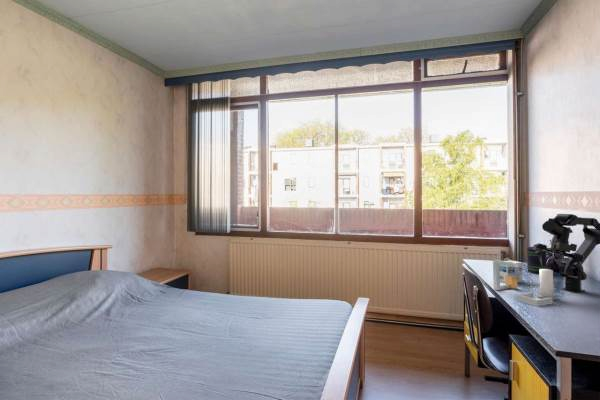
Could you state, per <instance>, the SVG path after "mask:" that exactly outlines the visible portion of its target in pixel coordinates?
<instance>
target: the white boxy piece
mask: <svg viewBox="0 0 600 400" xmlns="http://www.w3.org/2000/svg"><path fill="white" fill-rule="evenodd" d="M505 261H506V260H505ZM505 261H504V260H500V259H493V260H492V267H493V268H492V271H493V272H492V273H493V276H492V277H493V290H494V291H501V290H508V289H512V290H514V289H518V282H517V276H513V275H506V276H505V277H506V283H505V284H503V285H501V281H500V264H501V265H506V266H511V267H518V264H515V263H510V262H505Z"/></svg>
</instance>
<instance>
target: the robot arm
mask: <svg viewBox="0 0 600 400" xmlns="http://www.w3.org/2000/svg"><path fill="white" fill-rule="evenodd" d="M577 225H581V226H583V228H582V232H583V235H584V236H583V237H584V240H583V242H582V243H581V244H580V245H579V247H578V244H577V243H576V244H575V243H570V241H569V238H570V234H571V233H572V234H573V233H574V232H573V229H571V227H574V226H577ZM589 226H590V227H589ZM541 227H542V230H543V231H544V232H546V233H548V234H550V235H551V236H553V238H552V240H551V245H550V247H548V246H547V245H546V244H543V243H539V242H538V243H536V244H533V246H532V247H533V250H536V251H535V252H537V253H538V256H539V258H540V262H541V266H542V267H543V265H544V260H545V254H546V253H547V252H548V253H551V254H555V255H557V256H558V255H559V256H562V257H564V258H563V259H562V261H560V264H559V266H558V271H559V275H560V277H561V278H565V279H564V280H565V281H564V287H562V288H561V289H562V290H565V291H568V292H572V293H577V294H578V293H582V292H586V290H585V289H582V281H585V280H587V277H588V275H587V273H586V272H585V271H584V270H585V269H584V263H585V261H586V260H587V259H588V257H589V256H590V255H591V253H592V252H593V251H594V249H595V248H596V246H598V245H600V222H599V221H598V219H597V218H595V217H581V216H579V217H578V215H575V214H573V213H572V214H571V213H569V214H568V213H557V214H556V216H554V217H553V218H549V217H548V219H547V220H546V221H545V222H544V223H542V225H541ZM592 227H593V228H592ZM546 251H547V252H546ZM571 252H572V253H571Z"/></svg>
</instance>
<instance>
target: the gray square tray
mask: <svg viewBox="0 0 600 400" xmlns="http://www.w3.org/2000/svg"><path fill="white" fill-rule="evenodd" d="M534 295H535V294H534V292H524V293H518V294H517V293H516V300H517V301H519V302H522V303H525V304H529V305H531V304H532V306H534V305H535V306H534V307H541V305H542V306H547V304H548V305H552V304H553V302H554V300H552V298H544V299H540V298H538V297H536V296H534Z"/></svg>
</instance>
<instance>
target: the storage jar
mask: <svg viewBox="0 0 600 400" xmlns="http://www.w3.org/2000/svg"><path fill="white" fill-rule="evenodd" d="M535 251H536V250H533V246H527V247H526V257H527V263H526V267H527V268H526V269H527V272H528V273H530V274H534V275H539V269H548V264H547V258H548V253H547V251H546V254H545V260H544V265H543V267H542V266H541V262H540V258H539V256H538V253H537V252H535Z"/></svg>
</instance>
